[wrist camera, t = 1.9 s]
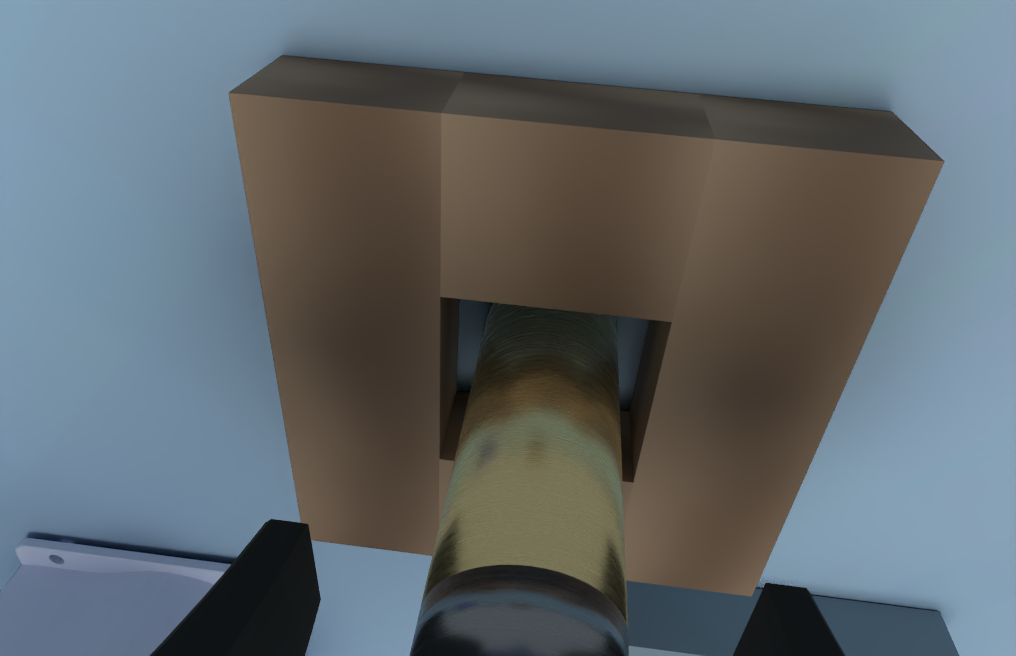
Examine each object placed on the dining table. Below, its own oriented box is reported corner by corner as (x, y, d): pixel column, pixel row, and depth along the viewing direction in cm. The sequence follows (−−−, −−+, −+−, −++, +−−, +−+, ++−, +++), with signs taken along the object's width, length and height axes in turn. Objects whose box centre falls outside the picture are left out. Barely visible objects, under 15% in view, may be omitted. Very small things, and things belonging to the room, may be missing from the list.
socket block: (332, 470, 21) (304, 539, 19) (281, 55, 14) (228, 92, 12) (736, 520, 20) (751, 596, 18) (892, 112, 13) (944, 161, 11)
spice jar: (484, 373, 18) (407, 733, 11) (489, 267, 16) (402, 615, 9) (606, 387, 18) (612, 762, 11) (626, 281, 16) (650, 648, 9)
